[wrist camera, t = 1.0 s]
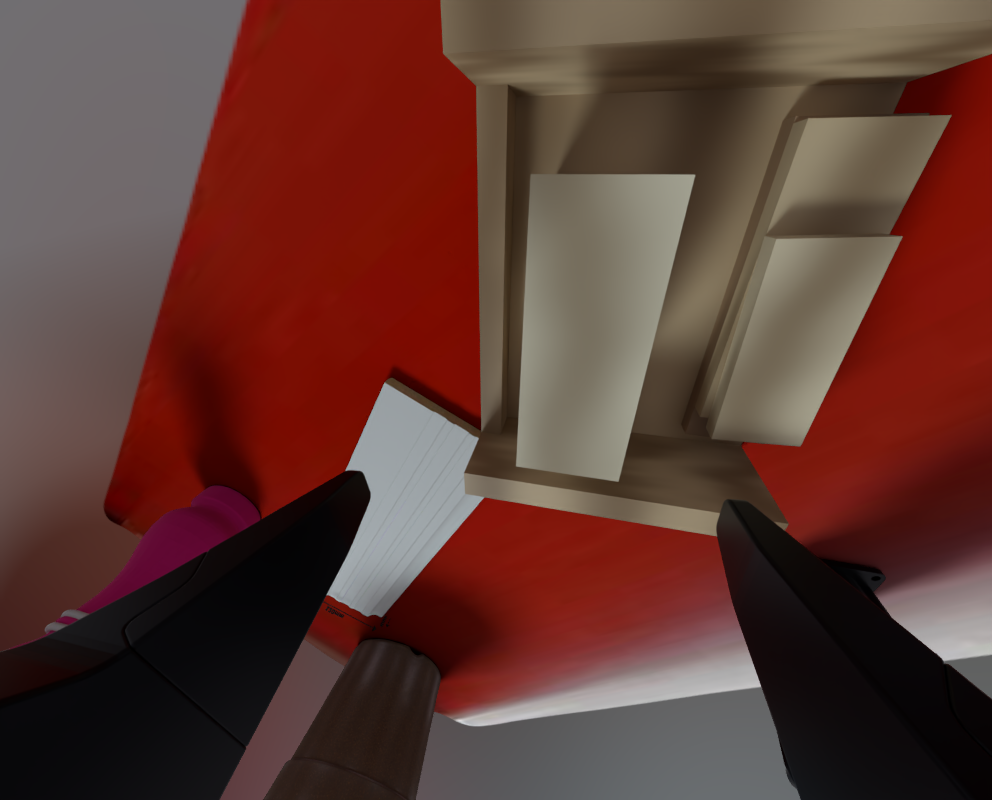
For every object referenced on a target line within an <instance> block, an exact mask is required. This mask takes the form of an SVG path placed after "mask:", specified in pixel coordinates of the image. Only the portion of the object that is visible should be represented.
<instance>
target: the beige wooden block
mask: <svg viewBox="0 0 992 800" xmlns="http://www.w3.org/2000/svg"><path fill="white" fill-rule="evenodd" d="M694 178H695V175H670V174H531V177H530V197H529V217H528V237H527V257H526V277H525V297H524V318H523V338H522V358H521V378H520V398H519V418H518V438H517V459H516V466H517V467H523V468H530V469H537V470H543V471H550V472H557V473H563V474H570V475H577V476H584V477H590V478H597V479H604V480H610V481H617V482H619V478H620V474H621V470H622V466H623V462H624V458H625V454H626V450H627V446H628V442H629V438H630V434H631V430H632V426H633V422H634V418H635V414H636V410H637V406H638V402H639V398H640V394H641V390H642V386H643V382H644V378H645V374H646V370H647V366H648V362H649V358H650V354H651V350H652V346H653V342H654V338H655V334H656V330H657V326H658V322H659V318H660V314H661V310H662V306H663V302H664V298H665V294H666V290H667V286H668V282H669V278H670V274H671V270H672V266H673V262H674V258H675V254H676V250H677V246H678V242H679V238H680V234H681V230H682V226H683V222H684V218H685V214H686V210H687V206H688V202H689V198H690V194H691V190H692V186H693V182H694Z"/></svg>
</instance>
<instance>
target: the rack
mask: <svg viewBox="0 0 992 800" xmlns="http://www.w3.org/2000/svg"><path fill="white" fill-rule="evenodd" d="M441 18H442V38H443V54H444V55H445V56H446V57H447V58H448V59H449V60H450V61H451V62H452V63H453V64H454V65H455V66H456V67H458V68H459V69H460V70H461V71H462V72H463V73H464V74H465V75H466V76H467V77H468V78H469V79H470V80H471V81H472V82H473V83H474V84H475V85H476V99H477V166H478V233H479V300H480V367H481V434H480V437H479V439H478V441H477V444H476V446H475V448H474V451H473V453H472V455H471V458H470V460H469V462H468V465H467V467H466V469H465V472H464V483H465V494H468V495H474V496H480V497H486V498H492V499H498V500H504V501H510V502H516V503H522V504H528V505H534V506H540V507H546V508H552V509H558V510H564V511H570V512H576V513H582V514H588V515H594V516H600V517H605V518H611V519H617V520H623V521H629V522H635V523H641V524H647V525H653V526H659V527H665V528H671V529H677V530H683V531H689V532H695V533H701V534H707V535H713V536H717V532H716V525H717V521H718V518H719V515H720V511H721V508H722V505H723V502H724V501H725V500H726V499H738V500H746V501H748V502H750V503H751V504H752V505H754V506H755V507H756V508H757V509H759V510H760V511H761V512H762V513H764V514H765V515H766V516H767V517H768V518H770V519H771V520H772V521H773V522H775V523H776V524H777V525H778V526H780V527H781V528H782V529H783V530H784V531H785V529H786V528H787V526H788V525H789V523H788V522H787V520H786V519H785V517H784V515H783V514H782V512H781V510H780V509H779V507H778V506H777V504H776V502H775V501H774V499H773V497H772V496H771V494H770V493H769V491H768V489H767V488H766V486H765V484H764V483H763V481H762V480H761V478H760V476H759V475H758V473H757V471H756V470H755V468H754V467H753V465H752V463H751V462H750V460H749V458H748V457H747V455H746V454H745V452H744V450H743V449H742V447H741V445H742V443H743V442H742V441H730V440H718V439H711V437H704V436H696V435H688V434H685V432H684V430H683V428H682V425H681V423H682V420H683V417H684V414H685V411H686V408H687V405H688V402H689V399H690V396H691V393H692V390H693V387H694V384H695V381H696V378H697V375H698V372H699V369H700V366H701V363H702V360H703V357H704V354H705V351H706V348H707V345H708V342H709V339H710V336H711V333H712V330H713V327H714V325H715V322H716V319H717V316H718V313H719V310H720V307H721V304H722V301H723V298H724V295H725V292H726V289H727V286H728V283H729V280H730V277H731V274H732V271H733V268H734V265H735V262H736V259H737V256H738V253H739V250H740V247H741V244H742V241H743V238H744V235H745V232H746V229H747V226H748V223H749V220H750V217H751V214H752V211H753V208H754V205H755V202H756V199H757V196H758V193H759V190H760V187H761V184H762V181H763V178H764V175H765V172H766V169H767V166H768V163H769V160H770V157H771V154H772V151H773V148H774V145H775V142H776V139H777V136H778V133H779V130H780V127H781V124H782V121H784V120H786V119H789V118H792V117H795V116H823V115H865V114H893V112H894V110H895V108H896V106H897V104H898V101H899V99H900V97H901V95H902V93H903V90H904V88H905V86H906V84H907V82H909V81H912V80H915V79H918V78H921V77H924V76H927V75H930V74H933V73H936V72H939V71H942V70H945V69H948V68H951V67H954V66H957V65H960V64H963V63H966V62H969V61H972V60H974V59H977V58H980V57H983V56H986V55H989V54H992V0H441ZM531 174H670V175H695V178H694V182H693V186H692V190H691V194H690V198H689V202H688V206H687V210H686V214H685V218H684V222H683V226H682V230H681V234H680V238H679V242H678V246H677V250H676V254H675V258H674V262H673V266H672V270H671V274H670V278H669V282H668V286H667V290H666V294H665V298H664V302H663V306H662V310H661V314H660V318H659V322H658V326H657V330H656V334H655V338H654V342H653V346H652V350H651V354H650V358H649V362H648V366H647V370H646V374H645V378H644V382H643V386H642V390H641V394H640V398H639V402H638V406H637V410H636V414H635V418H634V422H633V426H632V430H631V434H630V438H629V442H628V446H627V450H626V454H625V458H624V462H623V466H622V470H621V474H620V478H619V482H617V481H610V480H604V479H597V478H590V477H584V476H577V475H570V474H563V473H557V472H550V471H543V470H537V469H530V468H523V467H517V466H516V459H517V438H518V418H519V398H520V378H521V358H522V338H523V318H524V297H525V277H526V257H527V237H528V217H529V197H530V177H531Z"/></svg>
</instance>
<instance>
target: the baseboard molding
mask: <svg viewBox="0 0 992 800" xmlns="http://www.w3.org/2000/svg"><path fill="white" fill-rule="evenodd" d="M480 434H481V431H480V430H478V429H477V428H475V427H473V426H472V425H470V424H468V423H467V422H465V421H463V420H462V419H460V418H458V417H457V416H455V415H453V414H452V413H450V412H448V411H447V410H445V409H443V408H442V407H440V406H438V405H437V404H435V403H433V402H432V401H430V400H428V399H427V398H425V397H423V396H422V395H420V394H418V393H417V392H415V391H413V390H412V389H410V388H408V387H407V386H405V385H403V384H402V383H400V382H398V381H397V380H395V379H393V378H390V379H388V380H387V381H386V382H385V383H384V385H383V387H382V390H381V392H380V394H379V396H378V399H377V401H376V403H375V405H374V408H373V410H372V412H371V414H370V417H369V419H368V421H367V424H366V426H365V428H364V430H363V433H362V435H361V437H360V439H359V442H358V444H357V446H356V448H355V451H354V453H353V455H352V457H351V460H350V462H349V464H348V466H347V469H346V471H347V470H357V471H362V472H363V473H364V475H365V478H366V481H367V484H368V486H369V489H370V492H371V499H370V502H369V505H368V507H367V510H366V512H365V515H364V517H363V520H362V522H361V524H360V527H359V529H358V532H357V534H356V537H355V539H354V542H353V544H352V546H351V548H350V551H349V553H348V555H347V557H346V559H345V561H344V563H343V565H342V567H341V569H340V570H339V572H338V574H337V576H336V578H335V580H334V582H333V584H332V586H331V588H330V590H329V591H328V593H327V595H330V596H331V597H333V598H335V599H336V600H337V601H339V602H343V603H345V604H347V605H348V606H349V607H350V608H352V609H353V608H354V609H356V610H358V611H360V612H361V613H362V614H363V615H365V616H367V617H368V616H370V615H377V616H379V617H382V616H383V615H384V614H385V613H386V612H387V610H388V609H389V608H390V607H391V606H392V605H393V603H394V602H395V601H396V600H397V599H398V598H399V596H400V595H401V594H402V593H403V592H404V591H405V589H406V588H407V587H408V586H409V585H410V584H411V582H412V581H413V580H414V579H415V578H416V577H417V575H418V574H419V573H420V572H421V571H422V570H423V568H424V567H425V566H426V565H427V564H428V563H429V561H430V560H431V559H432V558H433V557H434V555H435V554H436V553H437V552H438V551H439V550H440V548H441V547H442V546H443V545H444V544H445V543H446V541H447V540H448V539H449V538H450V537H451V536H452V534H453V533H454V532H455V531H456V530H457V529H458V527H459V526H460V525H461V524H462V523H463V522H464V520H465V519H466V518H467V517H468V516H469V515H470V513H471V512H472V511H473V510H474V509H475V508H476V506H477V505H478V504H479V503H480V502H481V500H482V499H483V498H484V497H480V496H474V495H468V494H465V483H464V472H465V469H466V467H467V465H468V462H469V460H470V458H471V455H472V453H473V451H474V448H475V446H476V444H477V441H478V439H479V437H480ZM323 602H324V601H323ZM324 603H326V602H324ZM326 604H328V603H326ZM328 605H329V604H328ZM330 606H331V605H330ZM327 607H328V606H327ZM332 607H333V606H332ZM328 608H330V607H328ZM328 608H327V609H328ZM334 608H335V607H334ZM327 609H325V610H326V611H327ZM336 609H337V608H336ZM331 610H332V608H330V611H328V612H331ZM337 610H339V609H337ZM333 611H334V612H335V610H332V612H333ZM339 611H341V610H339ZM332 612H331V614H336V615H337V616H338V615H339V613H340V612H339V613H338V612H337V611H336V612H337V613H338V614H337V613H336V612H335V613H334V612H333V613H332ZM341 612H343V611H341ZM343 613H345V612H343ZM345 614H346V613H345ZM340 615H341V613H340ZM340 615H339V616H340ZM342 615H343V614H342ZM342 615H341V616H340V617H341V618H343V616H344V615H343V616H342ZM347 615H348V614H347ZM349 616H350V615H349ZM384 616H385V615H384ZM351 617H352V616H351ZM386 617H387V616H385V617H384V618H386ZM353 618H354V617H353ZM384 618H383V621H384V620H386V619H384ZM354 619H356V618H354ZM390 619H391V618H390ZM356 620H358V619H356ZM358 621H360V620H358ZM389 621H390V620H389ZM360 622H362V621H360ZM384 622H385V621H384ZM384 622H382V623H384ZM362 623H363V622H362ZM382 623H381V624H382ZM388 623H389V622H388ZM364 624H365V623H364ZM366 625H367V624H366ZM382 625H384V624H382ZM382 625H380V626H382ZM368 626H369V625H368ZM386 626H387V627H388V626H389V625H387V624H386ZM370 627H371V626H370ZM382 627H383V626H382ZM372 628H373V627H372ZM373 630H376V628H375V626H374V628H373ZM373 630H372V631H373Z"/></svg>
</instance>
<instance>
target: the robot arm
mask: <svg viewBox="0 0 992 800" xmlns="http://www.w3.org/2000/svg"><path fill="white" fill-rule="evenodd" d="M370 499H371V492H370V489H369V486H368V484H367V481H366V478H365V475H364V473H363V472H362V471H357V470H347V471H345V472H343V473H341V474H340V475H338V476H336V477H334V478H333V479H331V480H329V481H327V482H326V483H324V484H322V485H320V486H319V487H317V488H315V489H313V490H312V491H310V492H308V493H307V494H305V495H303V496H301V497H300V498H298V499H296V500H294V501H293V502H291V503H289V504H287V505H286V506H284V507H282V508H280V509H279V510H277V511H275V512H273V513H272V514H270V515H268V516H267V517H265V518H263V519H261V520H260V521H258V522H256V523H254V524H253V525H251V526H249V527H247V528H246V529H244V530H242V531H240V532H239V533H237V534H235V535H233V536H232V537H230V538H228V539H227V540H225V541H223V542H221V543H220V544H218V545H216V546H214V547H213V548H211V549H209V550H208V552H204V553H202V554H200V555H199V556H197V557H195V558H193V559H192V560H190V561H188V562H186V563H185V564H183V565H181V566H179V567H178V568H176V569H174V570H172V571H170V572H169V573H167V574H165V575H163V576H161V577H160V578H158V579H156V580H154V581H152V582H150V583H148V584H146V585H144V586H143V587H141V588H139V589H137V590H135V591H133V592H131V593H129V594H127V595H125V596H123V597H121V598H120V599H118V600H116V601H114V602H112V603H110V604H108V605H106V606H104V607H102V608H100V609H98V610H96V611H94V612H92V613H90V614H89V615H87V616H85V617H83V618H81V619H79V620H77V621H75V622H73V623H71V624H69V625H67V626H65V627H63V628H61V629H60V630H57V631H55V632H53V633H51V634H49V635H47V636H45V637H43V638H40V639H38V640H35V641H33V642H30V643H27V644H25V645H22V646H19V647H16V648H12V649H9V650H5V651H1V652H0V800H220V798H221V796H222V794H223V792H224V790H225V788H226V786H227V784H228V782H229V781H230V779H231V777H232V775H233V773H234V771H235V769H236V767H237V765H238V764H239V762H240V760H241V758H242V756H243V754H244V752H245V750H246V746H247V745H248V744H249V742H250V740H251V738H252V736H253V734H254V733H255V731H256V729H257V727H258V725H259V723H260V721H261V719H262V717H263V715H264V713H265V712H266V710H267V708H268V706H269V704H270V702H271V700H272V698H273V696H274V694H275V692H276V690H277V689H278V687H279V685H280V683H281V681H282V679H283V677H284V675H285V673H286V672H287V670H288V668H289V666H290V664H291V662H292V660H293V658H294V656H295V654H296V652H297V651H298V649H299V647H300V645H301V643H302V641H303V639H304V637H305V635H306V633H307V631H308V630H309V628H310V626H311V624H312V622H313V620H314V618H315V616H316V614H317V612H318V611H319V609H320V607H321V605H322V603H323V601H324V599H325V597H326V595H327V593H328V591H329V590H330V588H331V586H332V584H333V582H334V580H335V578H336V576H337V574H338V572H339V570H340V569H341V567H342V565H343V563H344V561H345V559H346V557H347V555H348V553H349V551H350V548H351V546H352V544H353V542H354V539H355V537H356V534H357V532H358V529H359V527H360V524H361V522H362V520H363V517H364V515H365V512H366V510H367V507H368V505H369V502H370ZM716 532H717V538H718V542H719V547H720V551H721V555H722V560H723V564H724V569H725V573H726V577H727V582H728V586H729V591H730V595H731V599H732V603H733V606H734V609H735V612H736V615H737V618H738V621H739V624H740V627H741V630H742V633H743V635H744V638H745V641H746V644H747V647H748V650H749V653H750V656H751V658H752V661H753V664H754V667H755V670H756V673H757V676H758V678H759V681H760V684H761V687H762V690H763V693H764V696H765V699H766V701H767V704H768V707H769V710H770V713H771V716H772V719H773V721H774V724H775V727H776V730H777V734H778V738H779V742H780V747H781V751H782V755H783V759H784V763H785V766H786V773H787V777H788V779H789V781H790V782H791V784H792V785H793V786H794V787H795V788H796V789H797V790H798V793H799V796H800V799H801V800H992V699H991V698H990V697H989V696H987V695H986V694H985V693H984V692H983V691H981V690H980V689H979V688H977V687H976V686H975V685H974V684H973V683H971V682H970V681H969V680H968V679H967V678H965V677H964V676H963V675H962V674H960V673H959V672H958V671H957V670H955V669H954V668H953V667H952V666H950V665H949V664H945V663H944V661H943V660H942V658H940V657H939V656H938V655H937V654H936V653H934V652H933V651H932V650H931V649H929V648H928V647H927V646H926V645H924V644H923V643H922V642H921V641H920V640H918V639H917V638H916V637H915V636H913V635H912V634H911V633H910V632H909V631H907V630H906V629H905V628H904V627H902V626H901V625H900V624H899V623H897V622H896V621H895V620H894V619H893V618H892V617H891V616H890V615H889V613H888V612H887V610H886V609H885V608H884V606H883V605H882V604H881V602H880V601H879V599H878V598H877V597H876V595H875V594H874V591H875V590H876V589H877V588H878V587H879V586H880V585H881V584H882V583H883V582H884V580H885V579H886V577H885V575H884V574H883V573H882V571H881V570H879V569H876V568H871V567H865V566H859V565H853V564H847V563H841V562H835V561H829V560H824V559H819V558H818V557H816V556H815V555H814V554H813V553H811V552H810V551H809V550H808V549H807V548H805V547H804V546H803V545H802V544H800V543H799V542H798V541H797V540H795V539H794V538H793V537H792V536H791V535H789V534H788V533H787V532H786V531H784V530H783V529H782V528H781V527H780V526H778V525H777V524H776V523H775V522H773V521H772V520H771V519H770V518H768V517H767V516H766V515H765V514H764V513H762V512H761V511H760V510H759V509H757V508H756V507H755V506H754V505H752V504H751V503H750V502H748V501H746V500H738V499H726V500H725V501H724V502H723V505H722V508H721V511H720V515H719V518H718V521H717V525H716Z"/></svg>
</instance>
